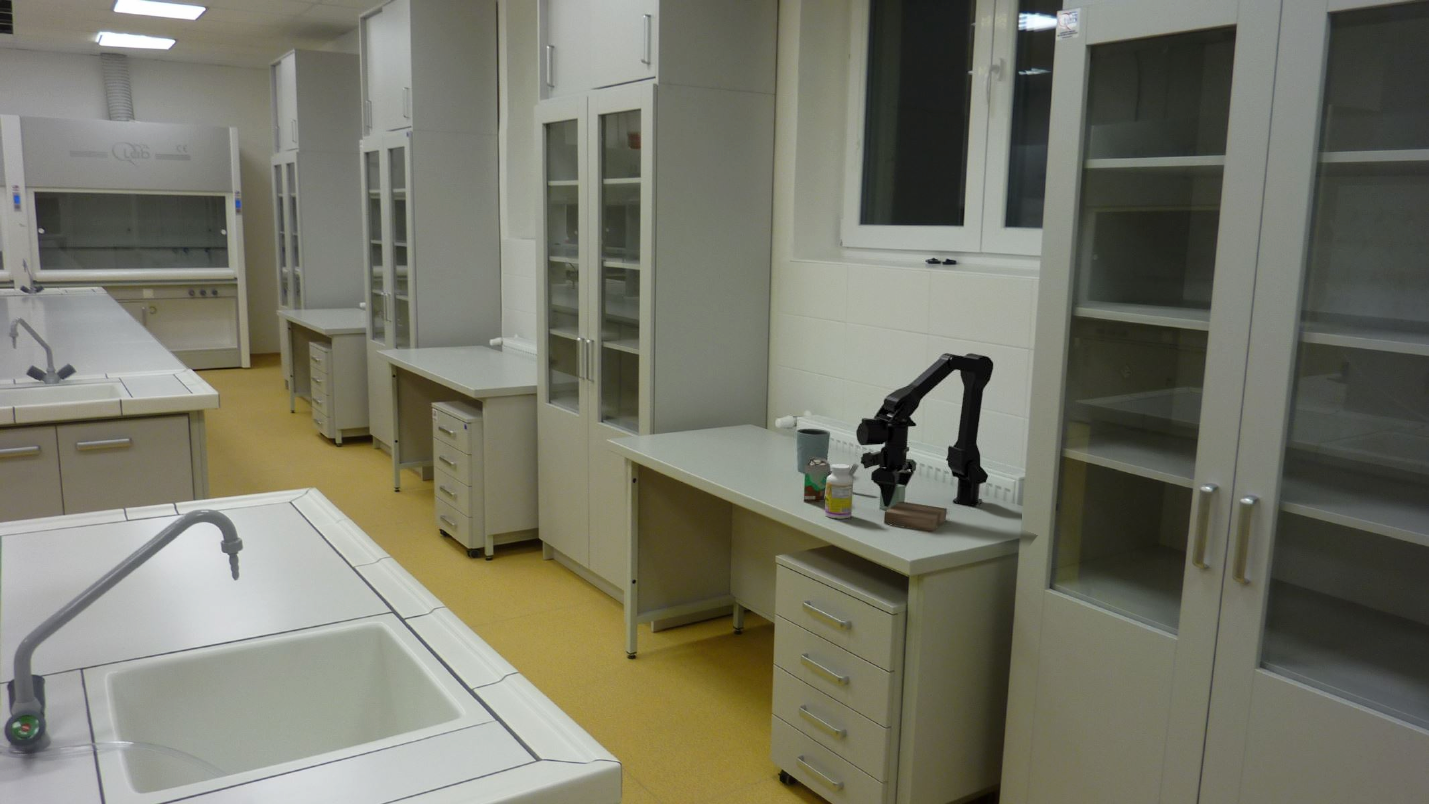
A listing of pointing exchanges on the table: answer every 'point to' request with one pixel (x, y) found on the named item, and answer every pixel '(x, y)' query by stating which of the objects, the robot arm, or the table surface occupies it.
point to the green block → (894, 497)
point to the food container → (815, 479)
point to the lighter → (853, 469)
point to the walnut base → (915, 516)
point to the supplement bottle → (839, 492)
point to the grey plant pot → (811, 446)
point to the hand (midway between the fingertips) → (892, 502)
